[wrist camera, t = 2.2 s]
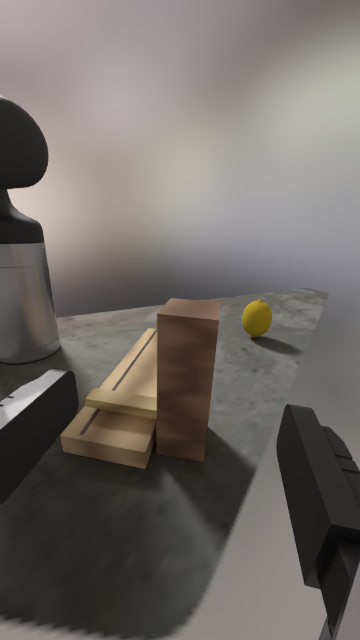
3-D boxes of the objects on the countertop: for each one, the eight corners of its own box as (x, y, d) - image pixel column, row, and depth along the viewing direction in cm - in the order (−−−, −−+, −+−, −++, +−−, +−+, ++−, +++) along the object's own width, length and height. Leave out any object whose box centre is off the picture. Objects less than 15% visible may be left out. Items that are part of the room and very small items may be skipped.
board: (63, 451, 22) (59, 434, 21) (148, 337, 46) (148, 327, 45) (145, 469, 21) (145, 451, 20) (189, 342, 45) (189, 332, 44)
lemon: (247, 344, 45) (253, 304, 43) (235, 332, 50) (240, 296, 48) (273, 342, 46) (281, 303, 44) (259, 331, 51) (265, 295, 49)
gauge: (81, 438, 24) (62, 304, 19) (103, 407, 28) (92, 290, 23) (203, 462, 22) (218, 320, 17) (207, 425, 26) (220, 302, 21)
